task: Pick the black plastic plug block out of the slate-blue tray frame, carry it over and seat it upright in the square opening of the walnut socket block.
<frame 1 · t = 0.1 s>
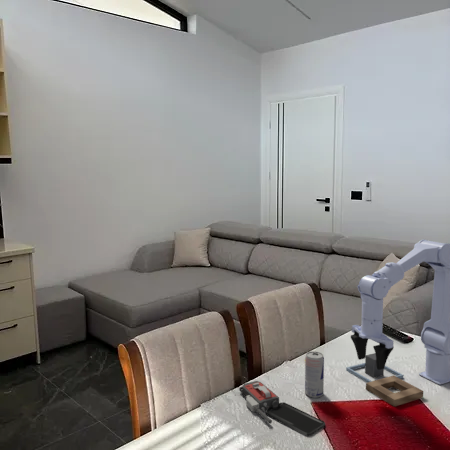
hand: (370, 363, 130), 10 cm above the table, tool pointing down, fingers open, 7 cm apart
plug: (374, 365, 145), in the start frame
energy drink: (314, 394, 133), on the table
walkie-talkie: (262, 407, 127), on the table, touching phone
socket block: (393, 393, 133), on the table
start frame: (374, 374, 146), on the table
phone: (294, 421, 120), on the table, touching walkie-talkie
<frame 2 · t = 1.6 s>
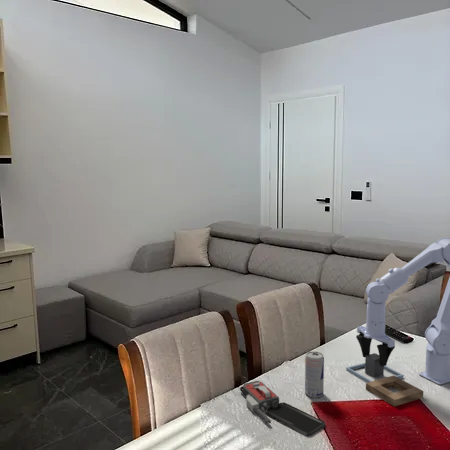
hand: (374, 360, 145), 4 cm above the table, tool pointing down, fingers open, 7 cm apart
nothing on the table moved.
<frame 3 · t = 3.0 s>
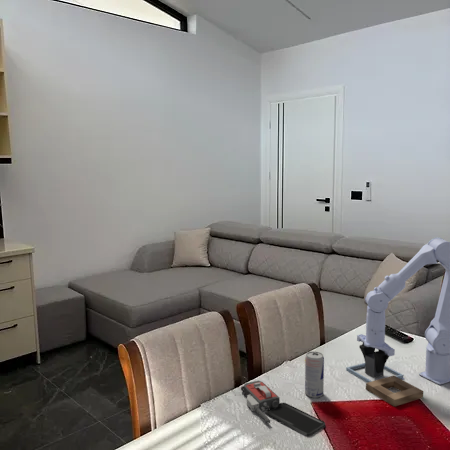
hand: (374, 369, 146), 2 cm above the table, tool pointing down, fingers closed on plug, 4 cm apart
plug: (374, 365, 145), in the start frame, touching gripper
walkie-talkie: (262, 406, 127), on the table
phone: (294, 421, 120), on the table
everything else where it was.
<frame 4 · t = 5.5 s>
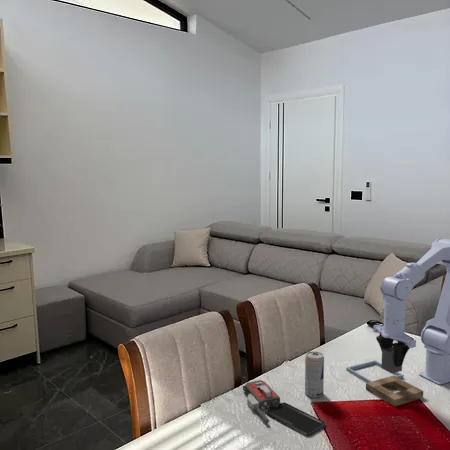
hand: (392, 362, 133), 9 cm above the table, tool pointing down, fingers closed on plug, 4 cm apart
plug: (391, 359, 133), point 10 cm above the table, touching gripper
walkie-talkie: (263, 406, 128), on the table, touching phone
phone: (294, 421, 120), on the table, touching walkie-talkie
everything else where it was.
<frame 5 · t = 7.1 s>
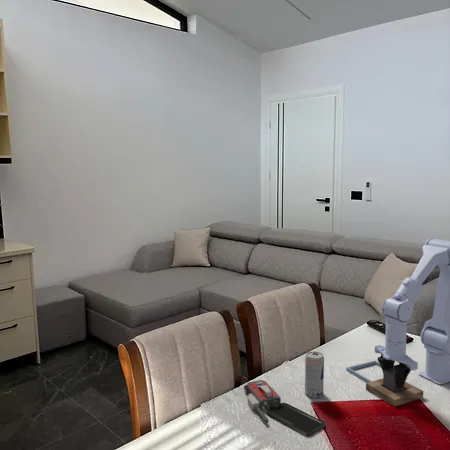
hand: (394, 384, 133), 3 cm above the table, tool pointing down, fingers closed on plug, 4 cm apart
plug: (393, 381, 132), in the socket block, point 4 cm above the table, touching gripper
everything else where it was.
when the fingers open (3 cm above the table, at t = 8.3 s): plug stays where it is, resting in socket block.
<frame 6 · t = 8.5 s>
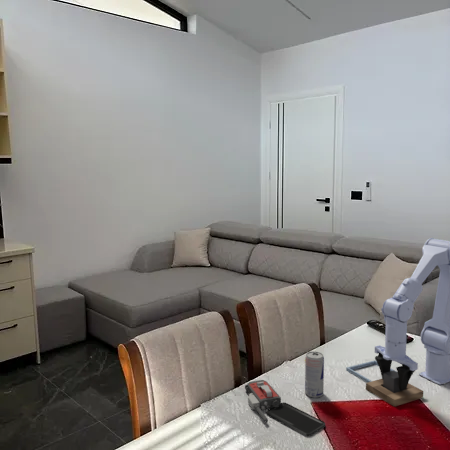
hand: (394, 384, 133), 3 cm above the table, tool pointing down, fingers open, 6 cm apart
plug: (393, 384, 133), in the socket block
everything else where it was.
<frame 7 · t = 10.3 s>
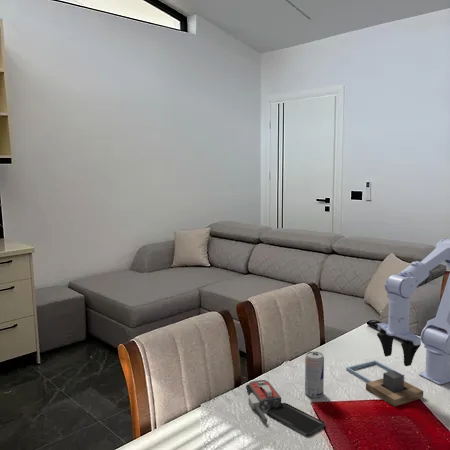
hand: (397, 360, 134), 9 cm above the table, tool pointing down, fingers open, 7 cm apart
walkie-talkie: (264, 405, 128), on the table
phone: (294, 422, 120), on the table
everything else where it was.
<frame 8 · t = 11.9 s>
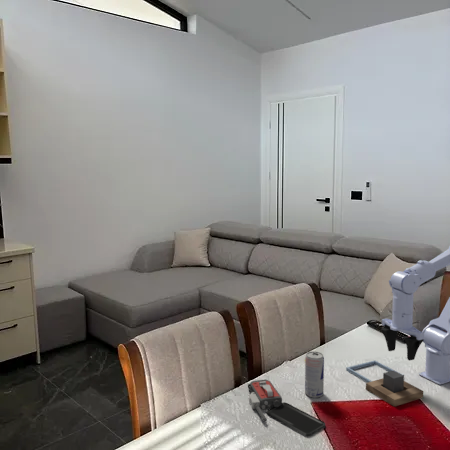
hand: (401, 354, 138), 9 cm above the table, tool pointing down, fingers open, 7 cm apart
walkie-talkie: (265, 405, 128), on the table, touching phone
phone: (294, 421, 120), on the table, touching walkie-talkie
everything else where it was.
at the end: plug 0.3 cm off-centre on the socket block, point 2.9 cm above the socket block's base; plug tilted 0°; the gripper is holding nothing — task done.
